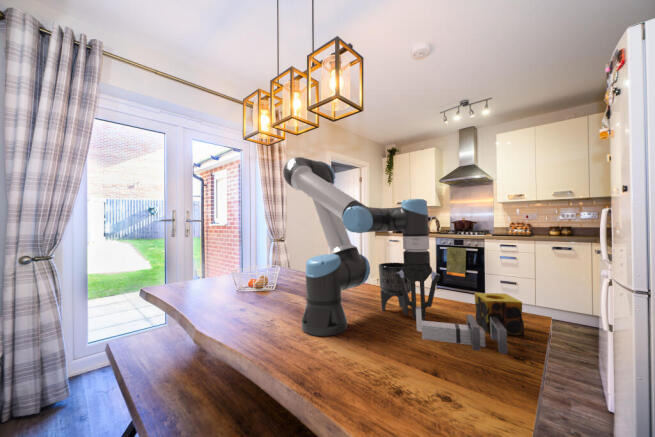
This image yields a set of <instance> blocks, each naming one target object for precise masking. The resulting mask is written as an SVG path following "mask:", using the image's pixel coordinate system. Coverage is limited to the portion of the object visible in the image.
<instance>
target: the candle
mask: <svg viewBox="0 0 655 437" xmlns="http://www.w3.org/2000/svg"><path fill="white" fill-rule="evenodd" d="M474 303H475V320H476V322H477V324H478V326H481V327H482V328H483V330H484V331H485V334H486V333H487V334H490V317H496V318H497V319H498V320H499V321H500V323H501V324H502V325H503V326H504V328H505V329H506V330H507V336H522V337H523V336H525V328H524V327H525V323H524V319H523V301H521V300H519V299H517V298H515V297H513V296H511V295H509V294H506V293H493V292H490V293H489V292H487V293H485V292H484V293H483V292H481V293H480V292H475V293H474ZM490 335H491V334H490Z"/></svg>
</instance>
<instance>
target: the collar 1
mask: <svg viewBox="0 0 655 437" xmlns="http://www.w3.org/2000/svg"><path fill="white" fill-rule="evenodd" d="M466 325H470V326H471V328H472V345H471V346H472V350H473V351H478V352H480V351H481V346H480V328H479V326H480V325H478V323H477V322H476V317H474V314H466Z"/></svg>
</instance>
